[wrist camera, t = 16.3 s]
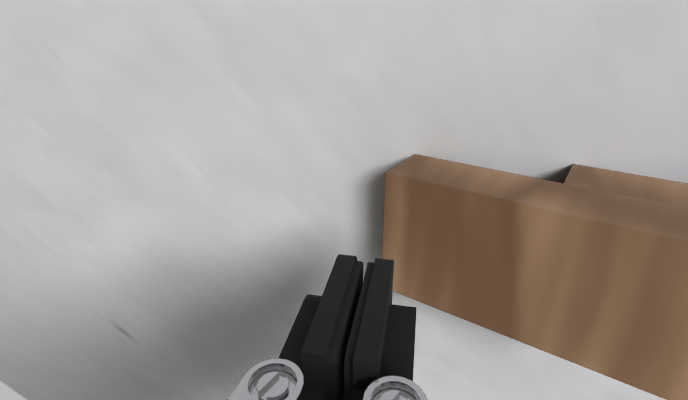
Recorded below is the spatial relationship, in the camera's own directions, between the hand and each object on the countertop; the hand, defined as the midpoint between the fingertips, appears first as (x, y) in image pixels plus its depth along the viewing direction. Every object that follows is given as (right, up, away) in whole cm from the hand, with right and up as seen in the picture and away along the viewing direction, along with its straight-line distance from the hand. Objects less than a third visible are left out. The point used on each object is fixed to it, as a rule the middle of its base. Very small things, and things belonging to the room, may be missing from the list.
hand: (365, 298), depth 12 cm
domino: (+2, +2, +4) cm, 5 cm away
